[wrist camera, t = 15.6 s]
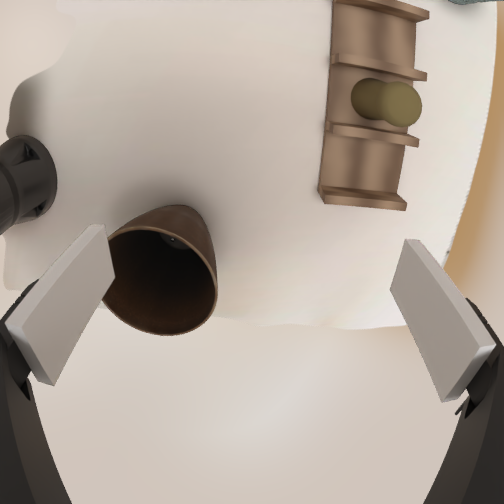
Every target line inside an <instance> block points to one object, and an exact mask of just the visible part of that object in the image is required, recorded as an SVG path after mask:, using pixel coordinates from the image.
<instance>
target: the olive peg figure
mask: <svg viewBox="0 0 504 504" xmlns="http://www.w3.org/2000/svg"><path fill="white" fill-rule="evenodd" d="M351 103H352V106H353V108H354V110H355V111H356V112H357V113H358V114H359V115H360V116H361V117H363V118H365V119H368V120H385V121H386V122H387V123H389V124H391V125H393V126H396V127H408V126H411V125H412V124H414V123H415V122H416V121H417V120H418V119H419V117H420V115H421V111H422V103H421V98H420V96H419V94H418V92H417V91H416V90H415V89H414V88H413V87H412V86H410V85H408V84H407V83H404V82H400V81H395V82H390V83H386V82H384V81H381V80H378V79H374V78H364V79H362V80H360V81H358V82H357V83H356V84H355V85H354V87H353V89H352V91H351Z"/></svg>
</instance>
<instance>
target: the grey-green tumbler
mask: <svg viewBox="0 0 504 504" xmlns="http://www.w3.org/2000/svg"><path fill="white" fill-rule="evenodd" d="M448 1H452V2H453V3H456V4H460V5H464V4H471V3H476V2H487V1H504V0H448Z"/></svg>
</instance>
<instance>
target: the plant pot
mask: <svg viewBox="0 0 504 504" xmlns="http://www.w3.org/2000/svg"><path fill="white" fill-rule="evenodd" d="M172 238H173V239H174V241H171V239H172ZM107 240H108V245H109V250H110V255H111V260H112V265H113V269H114V274H115V278H114V280H113V282H112V283H111V285H110V286H109V288H108V290H107V291H106V293H105V295H104V296H103V298H102V301H103V302H104V304H105V305H106V306H107V308H108V309H109V310H110V311H111V312H112V313H114V314H115V316H116V317H118V318H119V319H120V320H122V321H123V322H125V323H126V324H128V325H129V326H131V327H133V328H135V329H138V330H140V331H143V332H146V333H150V334H154V335H161V336H173V335H180V334H185V333H188V332H190V331H193V330H195V329H196V328H198V327H200V326H201V325H202V324H203V323H205V322H206V321H207V320H208V319H209V317H210V316H211V314H212V313H213V311H214V309H215V306H216V302H217V296H218V286H217V270H216V260H215V254H214V249H213V244H212V241H211V237H210V234H209V232H208V229H207V227H206V225H205V223H204V221H203V219H202V218H201V216H200V215H199V214H198V213H197V212H196V211H195V210H194V209H192V208H190V207H188V206H184V205H171V206H165V207H161V208H158V209H155V210H152V211H149V212H147V213H145V214H143V215H141V216H139V217H137V218H135V219H133V220H131V221H130V222H128V223H127V224H125V225H124V226H122V227H121V228H119V229H118V230H117V231H115V232H114V233H113V234H112V235H110V236H109V237H108V238H107Z"/></svg>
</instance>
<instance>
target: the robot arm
mask: <svg viewBox="0 0 504 504" xmlns="http://www.w3.org/2000/svg"><path fill="white" fill-rule="evenodd" d="M56 189H57V177H56V170H55V166H54V163H53V160H52V158H51V156H50V154H49V152H48V151H47V149H46V148H45V147H44V146H43V145H42V144H41V143H40V142H39V141H38V140H36V139H35V138H33V137H30V136H25V135H22V136H17V137H15V138H12V139H9V140H7V141H6V142H5V143H3V144H2V145H1V146H0V235H1V234H2V233H4V232H5V231H6V230H7V229H8V228H10V227H11V226H12V225H15V224H19V223H23V222H27V221H31V220H34V219H36V218H38V217H40V216H41V215H42V214H43V213H45V212H46V211H47V210H48V209H49V208H50V206H51V205H52V203H53V201H54V198H55V195H56ZM114 278H115V274H114V269H113V265H112V260H111V255H110V250H109V245H108V240H107V234H106V228H105V225H91V224H90V225H89V226H88V227H87V228H86V229H85V230H84V231H83V232H82V234H81V235H80V236H79V237H78V238H77V239H76V240H75V241H74V242H73V243H72V244H71V245H70V246H69V247H68V248H67V249H66V250H65V251H64V252H63V254H62V255H61V256H60V257H59V258H58V259H57V260H56V261H55V262H54V263H53V265H52V266H51V267H50V268H49V269H48V270H47V271H46V273H45V274H44V275H43V276H42V277H41V278H40V279H37V280H36V281H35V282H33V283H32V284H30V285H29V286H28V287H27V288H26V289H25V290H24V291H23V292H22V294H21V296H20V297H18V299H17V300H16V301H15V303H13V305H12V306H11V307H10V308H9V310H8V311H7V312H6V314H5V315H4V316H3V317H2V319H1V320H0V504H72V503H71V501H70V498H69V496H68V494H67V492H66V490H65V487H64V485H63V483H62V481H61V478H60V475H59V473H58V470H57V468H56V465H55V463H54V460H53V457H52V455H51V452H50V449H49V446H48V443H47V440H46V437H45V434H44V431H43V428H42V425H41V421H40V417H39V414H38V411H37V407H36V403H35V399H34V395H33V391H32V386H31V383H30V381H29V379H28V378H27V377H28V375H29V373H30V372H31V371H32V373H33V374H34V376H35V377H36V379H37V380H38V381H39V382H42V383H45V384H48V385H52V386H55V384H56V382H57V379H58V378H59V376H60V374H61V372H62V370H63V367H64V366H65V364H66V362H67V360H68V358H69V356H70V354H71V352H72V350H73V349H74V347H75V345H76V343H77V341H78V340H79V338H80V336H81V333H82V332H83V330H84V329H85V327H86V325H87V323H88V322H89V320H90V318H91V316H92V315H93V313H94V311H95V310H96V308H97V306H98V305H99V303H100V301H101V300H102V298H103V296H104V295H105V293H106V291H107V290H108V288H109V286H110V285H111V283H112V282H113V280H114ZM390 291H391V293H392V295H393V297H394V299H395V301H396V303H397V305H398V307H399V309H400V311H401V313H402V315H403V317H404V319H405V321H406V323H407V325H408V327H409V329H410V331H411V333H412V335H413V337H414V340H415V342H416V344H417V346H418V348H419V351H420V353H421V355H422V357H423V359H424V362H425V364H426V366H427V369H428V371H429V373H430V376H431V378H432V380H433V383H434V385H435V387H436V390H437V392H438V395H439V397H440V400H441V402H447V401H451V400H456V399H458V398H459V397H460V396H461V394H462V393H463V392H464V390H465V389H467V391H468V393H469V396H468V397H467V399H466V400H465V401H464V402H463V404H462V405H461V406H460V407H459V408H458V410H457V411H456V413H455V415H457V414H458V413H459V412H460V411H461V410H462V412H461V415H460V418H459V421H458V424H457V427H456V430H455V433H454V436H453V438H452V441H451V443H450V446H449V449H448V451H447V454H446V456H445V458H444V461H443V463H442V466H441V468H440V470H439V472H438V474H437V477H436V479H435V481H434V483H433V485H432V487H431V489H430V491H429V493H428V495H427V497H426V499H425V501H424V503H423V504H504V346H503V345H502V343H501V342H500V340H499V338H498V337H497V335H496V334H495V332H494V331H493V329H492V328H491V327H490V325H489V324H487V320H486V319H485V317H483V316H482V313H481V312H480V310H479V309H478V308H477V306H476V305H475V304H474V303H472V302H471V301H470V300H469V299H468V298H465V297H464V296H463V295H462V293H461V292H460V291H459V289H458V288H457V287H456V285H455V284H454V283H453V282H452V280H451V279H450V277H449V276H448V275H447V274H446V272H445V271H444V270H443V268H442V267H441V266H440V265H439V263H438V262H437V261H436V260H435V258H434V257H433V256H432V255H431V253H430V252H429V251H428V250H427V249H426V247H425V246H424V245H423V244H422V243H421V241H420V240H413V239H405V241H404V245H403V248H402V252H401V255H400V259H399V262H398V265H397V269H396V272H395V275H394V278H393V281H392V284H391V287H390Z"/></svg>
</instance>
